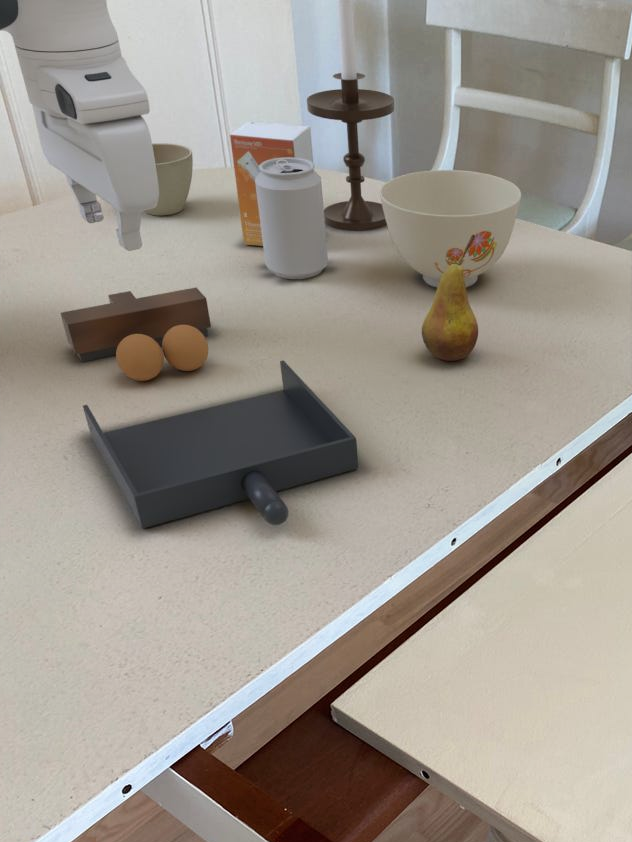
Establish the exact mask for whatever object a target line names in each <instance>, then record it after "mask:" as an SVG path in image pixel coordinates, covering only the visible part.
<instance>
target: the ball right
mask: <svg viewBox="0 0 632 842" xmlns="http://www.w3.org/2000/svg"><path fill="white" fill-rule="evenodd" d="M161 349H162V352H163V356H164V359H165V360H166V362H167V363H168V364H169V365H170V366H172V367H173V368H174V369H177V370H178V371H179V370H180V371H183V372H191V371H195V370H197V369H199V368H200V367H202V366H203V365H204V363H205V362H206V360H207V358H208V355H209V344H208V341H207V339H206V337H204V335H203V334H202V333H201V332H200V331H199V330H198V329H196V328H194V327H192V326H189V325H177V326H174V327H172V328H171V329H170V330H169V331H167V333H166V334H165V336H164V338H163V341H162V346H161Z"/></svg>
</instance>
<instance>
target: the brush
mask: <svg viewBox="0 0 632 842" xmlns="http://www.w3.org/2000/svg"><path fill="white" fill-rule="evenodd" d="M108 300H109V303H105V304H100V305H94V306H89V307H84V308H79V309H73V310H67V311H62V312H60V317H61V321H62V324H63V328H64V331H65V336H66V339H67V342H68V344H69V346H70V348H71V349H72V351H73V352H74V354H75V355H77V357H78V358H79V360H80V362H81V363H84V362H85V363H86V362H89V361H90V362H91V361H94V360H100V359H104V358H108V357H114V356H116V350H117V347H118V345H119V343H120V342H121V341H122V340H123V339H124V338H125V337H127V336H129V335H132V334H143V335H147V336H149V337H151V338H152V339H154V340H155V341H156V342H157V343H158V344H159V346H160V347H162V341H163V338H164V336H165V334H166V333H167V331H169V330H170V329H171V328H172V327H174V326H177V325H189V326H192V327H194V328H196V329H198V330H199V331H200V332H201V333H202V334H203V335H204V337H205V338H206V337H209V331H208V329H210V328H212V324H211V317H210V313H209V306H208V299H207V297H206V296H205V295H204V294H203V293H202V291H200V289H199V288H198V287H190V288H184V289H180V290H174V291H168V292H163V293H158V294H153V295H148V296H143V297H136V296H135V295H134V294H133V292H132V291H131V290H129V291H123V292H117V293H112V294H108Z"/></svg>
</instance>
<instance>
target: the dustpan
mask: <svg viewBox="0 0 632 842" xmlns="http://www.w3.org/2000/svg"><path fill="white" fill-rule="evenodd" d="M279 365H280V372H281V373H280V374H281V381H282V382H281V383H282V390H278V391H273V392H269V393H265V394H261V395H256V396H252V397H248V398H244V399H240V400H235V401H231V402H226V403H222V404H219V405H214V406H210V407H205V408H201V409H197V410H193V411H189V412H184V413H181V414H180V413H179V414H177V415H172V416H168V417H164V418H158V419H155V420H151V421H147V422H142V423H138V424H134V425H129V426H126V427H121V428H118V429H113V430H108V431H105V432H104V431H103V430H102V428H101V426H100V425H99V423H98V421H97V420H96V418H95V416H94V414H93V412H92V411H91V408H90V407H89V406H88V404H83V405H82V409H83V412H84V416H85V420H86V423H87V427H88V430H89V434H90V437H91V440H92V441H93V443H94V445H95V447H96V449H97V451H98V452H99V454H100V456H101V458H102V459H103V462H104V463H105V465H106V466H107V468H108V470H109V472H110V474H111V476H112V477H113V479H114V482H115V483H116V485H117V486H118V488H119V490H120V493H121V494H122V495H123V498H124V499H125V501H126V503H127V504H128V507H129V508H130V510H131V512H132V513H133V515H134V517H135V519H136V521H137V523H138V524H139V526H140V528H141V529H146V528H150V527H153V526H156V525H157V526H158V525H160V524H164V523H167V522H171V521H175V520H178V519H182V518H186V517H189V516H192V515H196V514H199V513H203V512H207V511H210V510H211V511H212V510H214V509H217V508H221V507H224V506H229V505H231V504H235V503H239V502H242V501H246V500H250V501H251V502H252V504H253V505H254V506H255V508H256V510H257V511H258V512H259V513H260V515H261V516H262V518H263V519H264V520H265V521H266V523H268V524H269V525H272V526H280V525H282V524H285V522H286V521H287V520H288V517H289V508H288V506H287V504H286V503H285V502H284V500H283V499H282V498H281V497H280V495H279V494H278V492H279V491H282V490H285V489H290V488H292V487H297V486H300V485H303V484H306V483H312V482H314V481H318V480H321V479H325V478H329V477H332V476H337V475H340V474H342V473H346V472H350V471H354V470H357V469H359V457H358V456H359V455H358V445H357V437H356V436H355V435H354V434H353V433H352V431H350V430H349V429H348V428H347V426H346V425H345V424H344V423H343V422H342V421H341V420H340V419H339V418H338V417H337V415H336V414H334V412H333V411H331V409H330V408H329V407H328V406H327V405H326V404H325V403H324V401H322V400H321V399H320V398H319V397H318V396H317V394H316V393H315V392H314V391H313V390H312V389H311V387H309V386H308V384H306V382H304V380H303V379H302V378H301V377H300V376H299V375H298V374H297V373H296V372H295V371H294V370H293V369H292V368H291V366H290V365H289V364H288V363H287V362H286V361H285V360H280V361H279Z"/></svg>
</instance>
